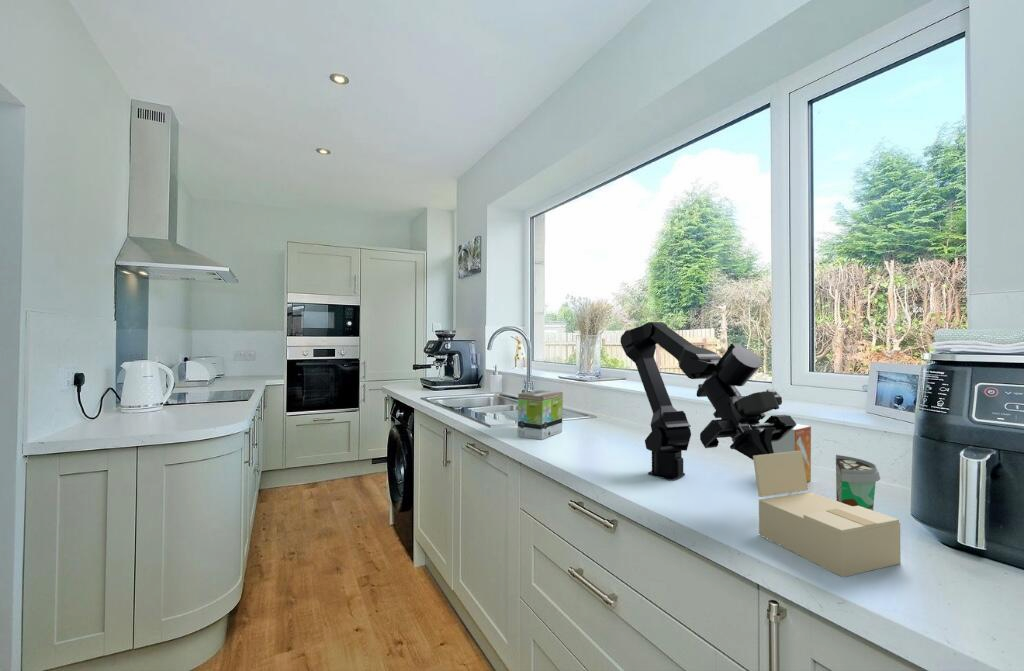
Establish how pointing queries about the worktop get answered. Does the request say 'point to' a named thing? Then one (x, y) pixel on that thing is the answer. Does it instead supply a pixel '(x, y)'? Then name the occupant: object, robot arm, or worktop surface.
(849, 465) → the food container
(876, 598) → the worktop surface
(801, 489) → the lid flap
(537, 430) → the tea box
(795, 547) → the carton
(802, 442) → the small box
